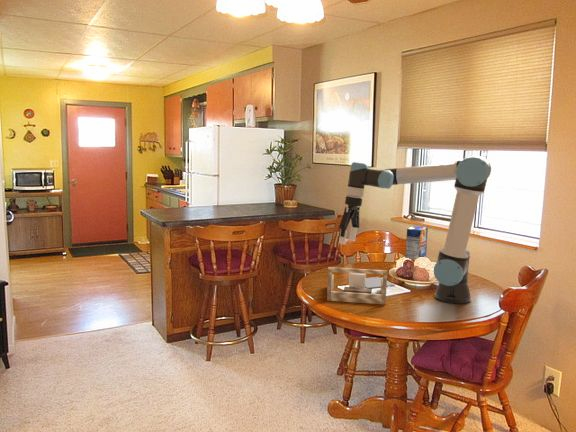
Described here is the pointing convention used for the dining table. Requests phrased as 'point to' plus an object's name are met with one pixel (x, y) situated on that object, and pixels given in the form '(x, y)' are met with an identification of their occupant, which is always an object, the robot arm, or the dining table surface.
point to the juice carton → (416, 242)
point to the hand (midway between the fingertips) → (346, 242)
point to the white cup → (357, 280)
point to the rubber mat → (375, 283)
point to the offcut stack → (357, 290)
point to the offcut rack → (356, 296)
